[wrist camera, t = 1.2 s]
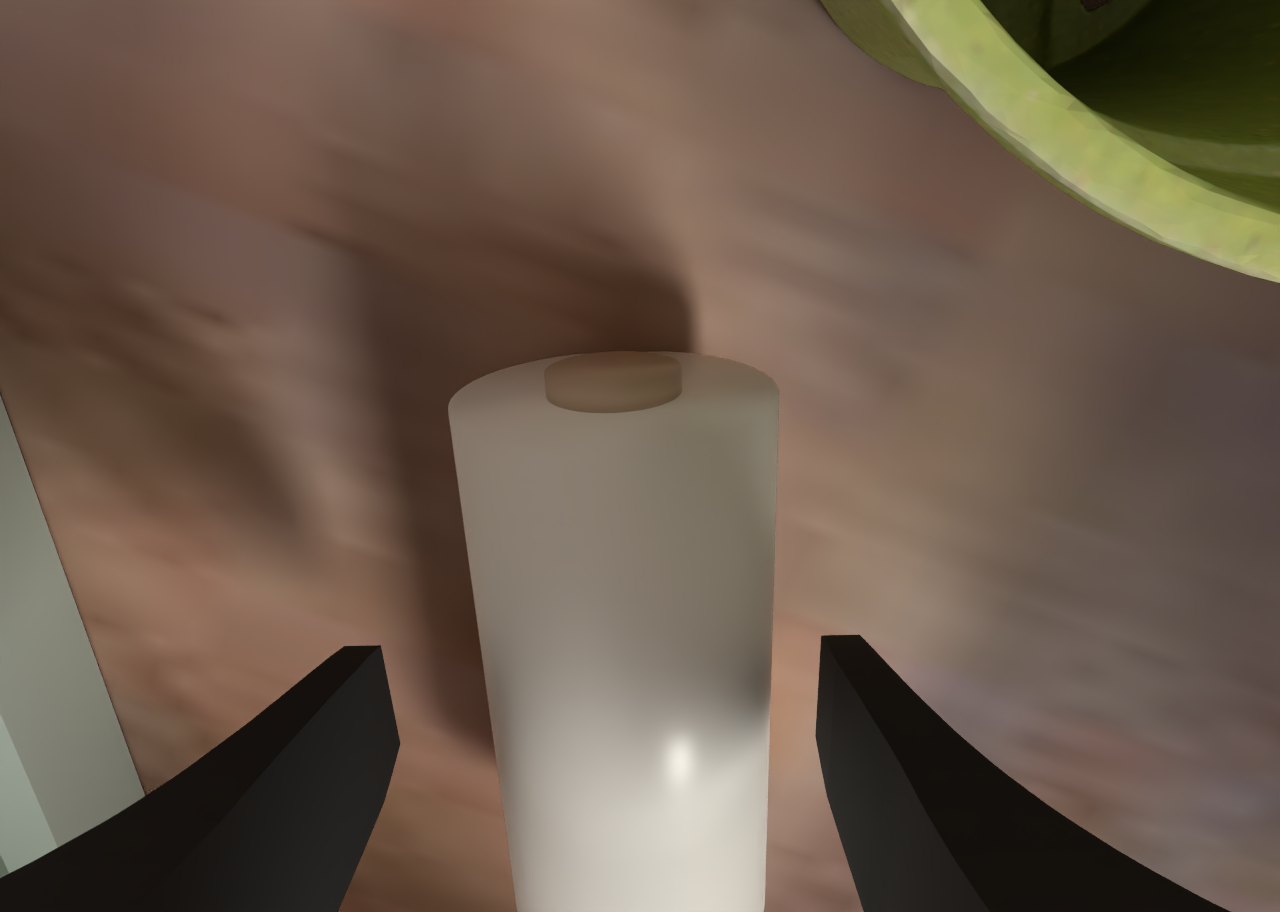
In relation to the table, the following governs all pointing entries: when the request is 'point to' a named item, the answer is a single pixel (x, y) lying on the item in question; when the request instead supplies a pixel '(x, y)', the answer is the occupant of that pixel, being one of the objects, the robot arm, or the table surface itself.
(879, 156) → the table surface
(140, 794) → the holder
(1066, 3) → the plant pot
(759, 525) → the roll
